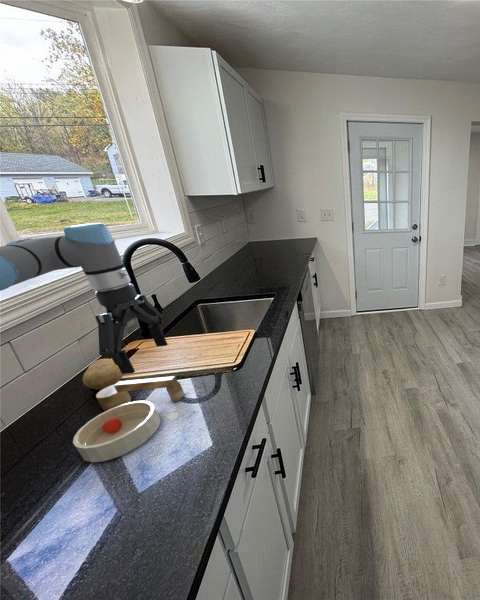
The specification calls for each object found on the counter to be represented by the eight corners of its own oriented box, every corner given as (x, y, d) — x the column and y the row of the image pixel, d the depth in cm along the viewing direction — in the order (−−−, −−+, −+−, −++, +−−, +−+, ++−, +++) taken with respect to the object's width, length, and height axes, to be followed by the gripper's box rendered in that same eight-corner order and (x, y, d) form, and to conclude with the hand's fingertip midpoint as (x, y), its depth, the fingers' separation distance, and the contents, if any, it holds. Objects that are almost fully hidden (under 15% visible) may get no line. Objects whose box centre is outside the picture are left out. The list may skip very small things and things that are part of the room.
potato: (88, 404, 93) (75, 382, 90) (90, 383, 103) (79, 362, 100) (129, 388, 99) (118, 367, 95) (128, 370, 109) (118, 350, 106)
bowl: (64, 467, 72) (53, 451, 70) (116, 418, 86) (108, 403, 84) (133, 460, 73) (124, 444, 71) (173, 412, 87) (167, 397, 85)
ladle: (97, 413, 89) (86, 392, 86) (115, 398, 95) (104, 378, 92) (175, 405, 90) (166, 384, 87) (188, 390, 96) (179, 371, 93)
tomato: (102, 437, 79) (96, 426, 78) (113, 426, 82) (107, 415, 81) (117, 435, 79) (111, 424, 78) (127, 425, 83) (121, 414, 81)
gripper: (85, 305, 67) (127, 385, 75) (160, 270, 90) (185, 334, 98) (49, 308, 67) (95, 388, 75) (133, 272, 90) (161, 337, 98)
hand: (146, 358), depth 87 cm, fingers open, 13 cm apart
